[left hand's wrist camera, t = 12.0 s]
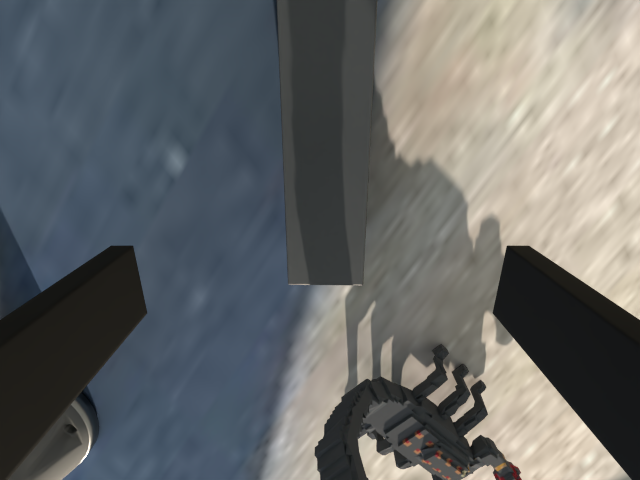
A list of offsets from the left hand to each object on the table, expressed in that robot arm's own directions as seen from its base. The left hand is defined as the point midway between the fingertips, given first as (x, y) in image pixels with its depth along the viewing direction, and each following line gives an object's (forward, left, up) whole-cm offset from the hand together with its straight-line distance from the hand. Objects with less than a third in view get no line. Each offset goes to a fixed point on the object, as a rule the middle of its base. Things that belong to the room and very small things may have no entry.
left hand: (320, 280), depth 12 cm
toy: (-14, -23, -18) cm, 32 cm away
